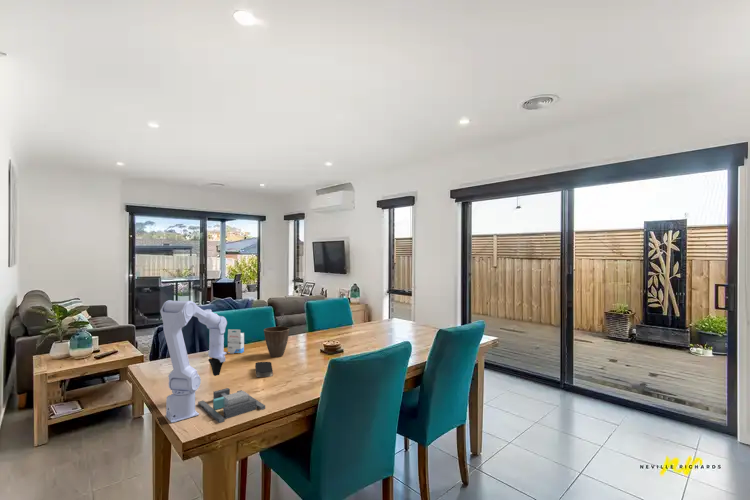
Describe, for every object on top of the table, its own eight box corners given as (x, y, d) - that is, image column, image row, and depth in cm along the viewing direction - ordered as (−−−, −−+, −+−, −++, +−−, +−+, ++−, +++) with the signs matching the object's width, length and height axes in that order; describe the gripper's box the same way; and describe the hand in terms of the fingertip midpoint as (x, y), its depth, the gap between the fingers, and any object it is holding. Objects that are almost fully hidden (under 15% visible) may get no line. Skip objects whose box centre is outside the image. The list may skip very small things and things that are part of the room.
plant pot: (258, 357, 212) (258, 330, 212) (272, 351, 226) (272, 325, 226) (280, 360, 207) (281, 332, 207) (293, 353, 221) (294, 327, 222)
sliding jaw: (215, 409, 141) (215, 400, 141) (205, 402, 148) (205, 393, 148) (244, 401, 150) (244, 392, 150) (234, 394, 157) (234, 386, 157)
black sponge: (255, 369, 192) (255, 362, 192) (271, 367, 195) (271, 360, 195) (255, 379, 177) (255, 371, 177) (273, 377, 180) (273, 370, 180)
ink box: (244, 351, 225) (244, 328, 225) (240, 353, 220) (240, 329, 220) (231, 351, 225) (231, 327, 226) (227, 353, 220) (227, 329, 221)
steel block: (228, 415, 137) (228, 399, 137) (223, 411, 140) (223, 396, 140) (248, 409, 142) (248, 394, 142) (243, 405, 146) (243, 390, 146)
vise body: (219, 423, 131) (219, 413, 131) (198, 404, 146) (198, 396, 146) (265, 408, 143) (265, 399, 143) (241, 392, 159) (241, 384, 159)
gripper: (232, 345, 154) (232, 377, 154) (219, 339, 164) (219, 369, 164) (215, 348, 149) (215, 381, 149) (203, 341, 159) (203, 372, 159)
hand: (216, 375), depth 156 cm, fingers closed
